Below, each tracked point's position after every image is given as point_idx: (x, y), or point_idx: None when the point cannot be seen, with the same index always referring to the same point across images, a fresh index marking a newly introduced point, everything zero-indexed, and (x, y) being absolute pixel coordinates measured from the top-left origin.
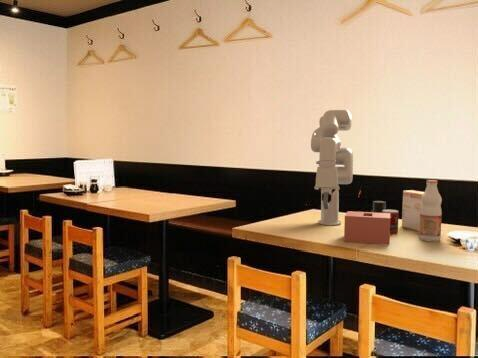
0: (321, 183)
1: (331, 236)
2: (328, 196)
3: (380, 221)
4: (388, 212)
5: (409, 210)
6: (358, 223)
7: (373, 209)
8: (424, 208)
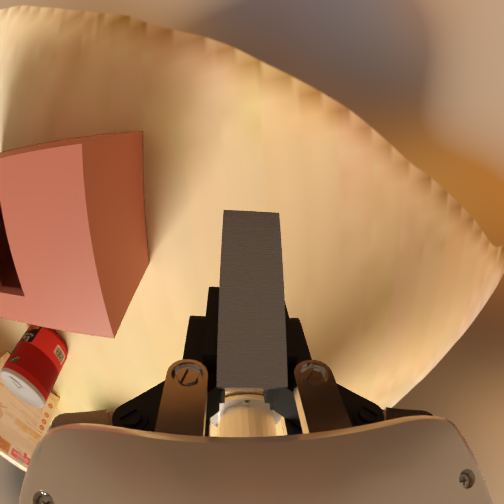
0: (395, 496)
1: (212, 225)
2: (216, 334)
3: None
4: (14, 373)
5: (21, 415)
6: (36, 148)
7: None
8: None
